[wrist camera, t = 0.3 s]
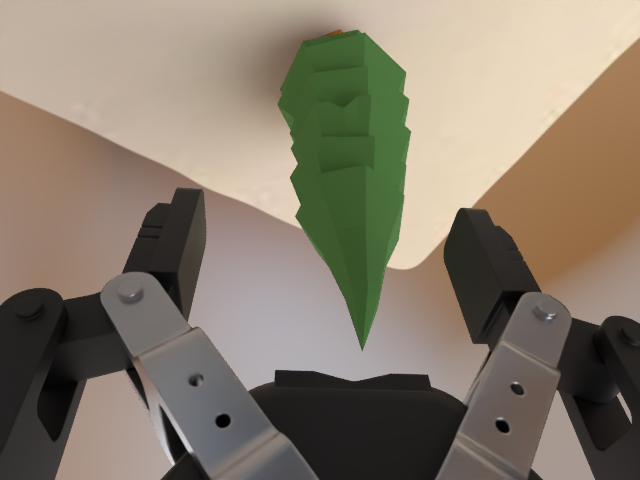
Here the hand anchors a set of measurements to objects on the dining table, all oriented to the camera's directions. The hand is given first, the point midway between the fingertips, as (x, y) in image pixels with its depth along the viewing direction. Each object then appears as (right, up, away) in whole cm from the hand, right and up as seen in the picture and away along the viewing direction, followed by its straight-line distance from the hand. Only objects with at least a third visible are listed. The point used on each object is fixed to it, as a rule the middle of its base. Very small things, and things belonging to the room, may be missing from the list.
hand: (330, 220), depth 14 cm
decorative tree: (+1, +15, +25) cm, 29 cm away
